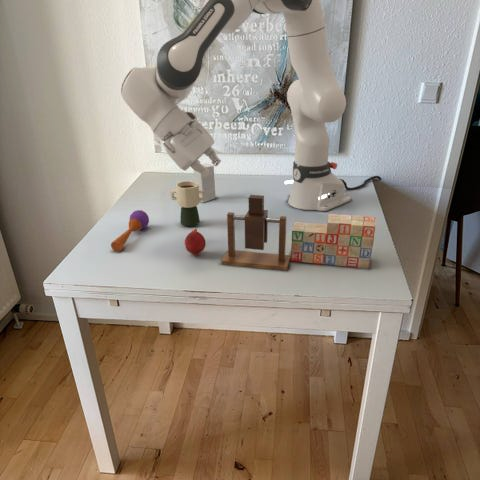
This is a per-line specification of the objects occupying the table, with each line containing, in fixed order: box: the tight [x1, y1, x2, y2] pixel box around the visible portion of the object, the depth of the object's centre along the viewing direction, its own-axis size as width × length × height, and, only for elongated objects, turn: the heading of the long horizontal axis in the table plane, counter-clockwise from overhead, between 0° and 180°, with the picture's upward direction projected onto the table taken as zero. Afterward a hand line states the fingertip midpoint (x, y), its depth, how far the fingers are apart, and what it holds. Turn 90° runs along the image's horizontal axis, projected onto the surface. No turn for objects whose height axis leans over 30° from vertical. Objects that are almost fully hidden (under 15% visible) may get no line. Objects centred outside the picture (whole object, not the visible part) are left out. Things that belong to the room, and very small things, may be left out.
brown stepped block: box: [244, 194, 269, 251], centre depth 128 cm, size 6×5×14 cm
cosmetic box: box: [193, 162, 216, 204], centre depth 173 cm, size 6×4×12 cm
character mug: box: [170, 180, 205, 227], centre depth 154 cm, size 11×7×13 cm, turn 84°
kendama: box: [110, 209, 150, 253], centre depth 148 cm, size 6×6×20 cm
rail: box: [221, 211, 291, 272], centre depth 131 cm, size 18×7×14 cm, turn 76°
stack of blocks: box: [290, 213, 377, 270], centre depth 131 cm, size 21×6×12 cm, turn 77°
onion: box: [184, 228, 207, 256], centre depth 136 cm, size 6×6×8 cm
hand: (213, 169), depth 126 cm, fingers open, 8 cm apart
